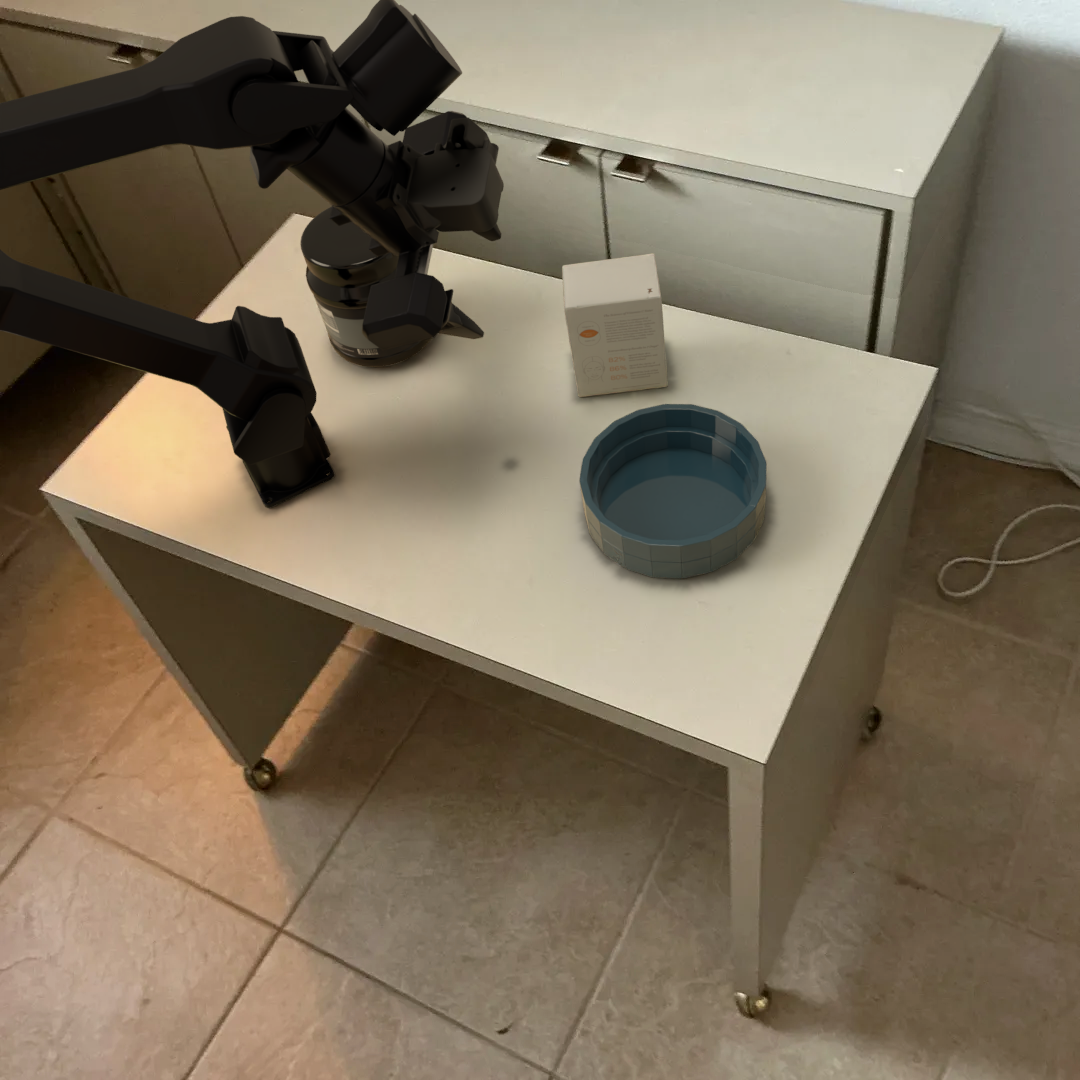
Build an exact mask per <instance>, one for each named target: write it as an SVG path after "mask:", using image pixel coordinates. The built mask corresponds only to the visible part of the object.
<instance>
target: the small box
mask: <svg viewBox="0 0 1080 1080" xmlns="http://www.w3.org/2000/svg"><path fill="white" fill-rule="evenodd" d="M561 276H562V296H563V312H564V319H565V324H566V331H567V335H568V342H569V347H570V348H569V349H570V354H571V360H572V366H573V371H574V378H575V384H576V391H577V396H578V397H579V398H585V397H591V396H600V395H608V394H616V393H617V394H618V393H624V392H625V393H626V392H635V391H643V390H651V389H660V388H666V387H668V385H669V383H668V381H669V380H668V367H667V356H666V342H665V329H664V327H665V325H664V312H663V301H662V300H663V299H662V294H661V293H662V292H661V286H660V279H659V271H658V266H657V259H656V255H655V253H654V252H653V253H647V254H637V255H631V256H624V257H622V256H621V257H616V258H608V259H601V260H593V261H585V262H578V263H570V264H569V263H568V264H562V267H561Z"/></svg>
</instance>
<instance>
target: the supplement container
mask: <svg viewBox="0 0 1080 1080" xmlns="http://www.w3.org/2000/svg"><path fill="white" fill-rule="evenodd" d="M331 209H332V205H331V206H329V207H327V208H326V209H324V210H322V211H321V212H320V213H318V214H317V215H315V216H314V217H313V218H312V219H311V220H310V221H309V223H308V224H307V225H306V226H305V228H304V230H303V231H302V233H301V237H300V243H299V244H300V250H301V254H302V256H303V258H304V261H305V263H306V267H305V268H306V269H305V278H306V283H307V285H308V288H309V290H310V292H311V293H312V296H313V297H314V300H315V302H316V305H317V308H318V311H319V314H320V316H321V319H322V321H323V324H324V327H325V329H326V332H327V336H328V339H329V340H328V341H329V343H330V345H331V347H332V348H333V350H334V351H335V353H337V355H339V357H340V358H342V359H343V360H345V361H346V362H348V363H350V364H353V365H356V366H359V367H363V368H364V367H366V368H382V367H383V368H384V367H389V366H393V365H397V364H400V363H402V362H405V361H407V360H409V359H411V358H413V357H415V356H416V355H417V354H419V353H420V352H421V351H423V349H425V347H427V345H428V344H429V343H430V341H432V339H433V338H430V339H426V340H422V341H418V342H414V343H410V344H406V345H402V346H398V347H394V348H390V349H386V350H382V349H380V348H379V347H377V346H376V345H375V344H373V343H372V342H370V341H369V340H368V339H367V338H366V337H365V336H364V335H363V334H362V325H363V320H364V315H365V311H366V306H367V302H368V297H369V293H370V288H371V285H374V284H378V283H381V282H384V281H387V280H391V279H394V278H395V273H396V269H397V264H398V259H399V256H395V255H393V254H392V253H387V254H384V255H381V256H378V257H377V256H376V255H375V254H374V253H372V252H371V251H370V250H369V244H370V240H371V237H370V236H369V235H368V234H366V233H365V232H364V231H363V230H361V229H360V228H359V227H358V226H357V225H355V224H354V223H353V222H349V223H346V224H344V225H341V226H338V225H337V224H336V223H335V222H333V221H332V220H331V219H330V218H329V217H330V213H331Z"/></svg>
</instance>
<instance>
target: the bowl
mask: <svg viewBox="0 0 1080 1080" xmlns="http://www.w3.org/2000/svg"><path fill="white" fill-rule="evenodd" d="M763 452H764V451H763V450H762V448H761V445H760V443H759V441H758V440H757V438H755V436H754V435H753V434H752V433H751V432H750V431H749V430H748V429H747V428H746V426H744V425H743V424H742V423H741V422H739V421H737V420H736V419H734V418H732V417H731V416H728V415H727V414H726V413H723V412H721V411H719V410H716V409H713V408H708V407H705V406H701V405H697V404H693V403H662V404H658V405H653V406H650V407H645V408H640V409H636V410H634V411H633V412H630V413H628V414H626V415H624V416H622V417H620V418H617V419H616V420H614V421H613V422H611V423H610V424H609V425H608V426H607V427H606V428H605V429H603V430H602V431H601V432H600V433H599V434H598V435H597V436H595V437H594V438H593V440H592V442H591V443H590V446H589V447H588V449H587V450H586V451H585V454H584V455H583V457H582V461H581V467H580V472H579V473H580V474H579V487H580V493H581V500H582V506H583V512H584V516H585V517H584V518H585V520H586V524H587V525H586V526H587V528H588V532H589V535H590V537H591V538H592V540H593V541H594V543H595V544H596V545H597V546H598V548H599V550H601V551H602V553H603V554H604V555H605V556H606V557H608V558H610V559H611V560H612V561H614V562H615V563H616V564H618V565H620V566H621V567H622V568H623V569H626V570H629V571H631V572H634V573H638V574H641V575H644V576H646V577H650V578H656V579H658V578H659V579H687V578H692V577H696V576H700V575H705V574H710V573H713V572H715V571H717V570H718V569H721V568H723V567H725V566H726V565H728V564H730V563H732V562H733V561H735V560H737V559H738V558H739V557H740V556H741V555H742V554H743V553H744V552H745V551H746V550H747V549H748V548H749V547H750V546H751V545H752V544H753V543H754V542H755V540H756V538H757V536H758V534H759V532H760V529H761V527H762V525H763V523H764V521H765V518H766V517H765V515H766V497H767V496H766V495H767V469H768V468H767V467H768V466H767V465H768V463H767V460H766V457H765V455H764V453H763Z"/></svg>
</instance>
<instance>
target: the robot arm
mask: <svg viewBox="0 0 1080 1080" xmlns="http://www.w3.org/2000/svg"><path fill="white" fill-rule="evenodd" d="M299 71H303V74H304V76H305V78H306V81H307V82H308V83H306V82H299V80H298V78H297V75H296V73H295V72H299ZM462 74H463V71H462V69H461V67H460V65H459V64H458V62H457V61H456V59H455V58H454V57H453V56H452V54H451V53H450V52H449V51H448V49H447V48H446V47H445V46H444V44H443V43H442V42H441V40H439V38H438V37H437V36H436V35H435V34H434V32H433V31H432V30H431V29H430V27H429V26H428V25H426V23H425V22H424V21H423V20H422V19H421V18H420V17H419V16H418V15H417V13H414V14H412V13H411V12H410V11H409V10H408V9H407V8H406V7H404V6H403V5H402V4H398V3H397V1H396V0H378V1H377V2H376V3H375V4H374V6H372V8H371V9H370V11H369V12H368V15H367V17H366V18H365V19H364V20H363V21H362V22H361V23H360V24H359V25H358V26H357V27H356V28H355V30H354V31H352V33H350V35H349V36H348V37H347V38H346V39H345V40H344V41H343V42H342V43H341V44H340V45H339V46H338V47H337V48H336V49H335V50H334V51H333V49H331V47H330V44H329V42H328V40H327V39H326V37H324V36H322V35H314V34H307V33H297V32H288V31H280V30H279V31H278V30H272V28H270V27H268V26H266V25H265V24H263V23H261V22H260V21H258V20H256V19H255V18H254V17H250V16H245V15H238V16H229V17H226V18H223V19H219V20H218V21H215V22H213V23H211V24H209V25H207V26H205V27H202V28H201V29H198V30H196V31H194V32H191V33H190V34H187V35H185V36H183V37H180V38H179V39H178V40H176V42H174V43H173V44H172V45H171V46H169V47H168V48H167V49H166V50H164V51H163V52H162V53H161V54H159V55H158V56H157V57H155V58H154V59H152V60H150V61H148V62H146V63H144V64H142V65H140V66H138V67H135V68H132V69H127V70H124V71H119V72H116V73H112V74H109V75H105V76H100V77H96V78H93V79H89V80H84V81H82V82H77V83H73V84H69V85H65V86H62V87H57V88H54V89H50V90H46V91H42V92H37V93H34V94H29V95H26V96H23V97H18V98H14V99H11V100H7V101H3V102H0V191H1V190H6V189H9V188H12V187H17V186H21V185H24V184H28V183H32V182H36V181H39V180H42V179H43V180H44V179H47V178H50V177H51V178H52V177H55V176H58V175H62V174H65V173H68V172H73V171H76V170H80V169H83V168H84V169H85V168H88V167H91V166H96V165H99V164H103V163H106V162H110V161H113V160H117V159H120V158H125V157H128V156H132V155H135V154H141V153H143V152H147V151H151V150H154V149H158V148H162V147H163V148H164V147H170V146H179V145H183V146H184V145H185V146H192V147H197V148H202V149H208V150H215V151H221V150H222V151H223V150H234V149H241V148H242V149H243V148H249V162H250V165H251V167H252V171H253V173H254V176H255V177H254V178H255V179H256V183H257V185H258V187H259V188H260V189H263V190H265V189H268V188H269V187H270V186H271V185H272V184H273V183H274V182H276V181H277V179H278V178H279V177H280V176H281V175H282V174H283V173H284V172H285V171H286V170H288V171H289V172H290V173H291V174H293V175H294V176H295V177H296V178H298V180H300V181H301V182H302V183H303V184H304V185H306V186H307V187H309V188H310V189H311V190H312V191H313V192H315V193H316V194H317V195H318V196H320V197H321V198H322V199H324V200H325V201H326V202H327V203H328V204H329V205H331V206H332V209H331V213H330V217H329V218H330V219H331V220H332V221H333V222H335V223H336V224H337V225H338V226H341V225H344V224H346V223H349V222H353V223H354V224H355V225H357V226H358V227H359V228H360V229H361V230H363V231H364V232H365V233H366V234H368V235H369V236H370V237H371V240H370V244H369V250H370V251H371V252H372V253H374V254H375V255H376V256H377V257H378V256H381V255H384V254H387V253H392V254H393V255H395V256H399V259H398V264H397V269H396V273H395V278H394V279H391V280H387V281H384V282H381V283H378V284H374V285H371V288H370V293H369V297H368V302H367V306H366V311H365V315H364V320H363V325H362V334H363V335H364V336H365V337H366V338H367V339H368V340H369V341H370V342H372V343H373V344H375V345H376V346H377V347H379V348H380V349H382V350H386V349H390V348H394V347H398V346H402V345H406V344H410V343H414V342H418V341H422V340H426V339H430V338H432V339H433V338H435V337H436V336H437V335H438V334H440V335H445V336H451V337H457V338H462V339H463V338H464V339H470V340H477V339H482V338H484V336H485V331H484V330H483V329H482V328H481V327H480V326H479V324H477V322H475V321H474V320H473V318H471V317H469V316H468V315H467V314H466V313H465V312H464V311H463V310H461V309H460V308H459V307H458V306H456V304H454V303H453V301H452V300H453V295H454V289H453V288H450V289H446V290H445V287H444V284H443V283H442V281H440V280H439V279H438V278H436V277H435V276H434V275H431V274H428V272H429V268H430V263H431V258H432V254H433V249H434V248H433V247H434V244H437V243H438V239H439V234H440V233H450V232H451V233H453V232H473V233H474V234H476V235H478V236H480V237H482V238H483V239H485V240H487V241H490V242H495V241H499V240H501V239H502V232H501V230H500V227H499V226H498V220H499V208H500V202H501V199H502V198H501V197H502V193H503V192H504V187H505V183H504V180H503V179H502V176H501V174H500V171H499V169H498V167H497V161H498V155H499V151H500V150H499V149H500V147H499V145H497V144H496V143H494V142H492V141H491V140H490V137H489V135H488V133H487V132H486V131H485V130H484V129H483V128H482V127H481V126H479V125H478V124H477V123H476V122H475V121H473V120H472V119H471V118H470V117H467V115H466V114H464V113H463V112H458V111H453V110H448V111H445V112H443V113H440V114H438V115H435V116H433V117H430V118H428V119H425V120H423V121H420V122H418V123H415V124H413V123H414V121H416V120H417V118H419V117H420V116H421V115H422V114H423V113H424V112H425V111H426V110H427V109H428V108H429V107H430V106H431V105H432V104H433V103H434V102H435V101H436V100H437V99H438V98H439V97H440V96H441V95H442V94H443V93H444V92H446V90H447V89H448V88H449V87H450V86H451V85H453V83H455V81H456V80H458V79H459V78H460V77H461V76H462ZM349 105H350V106H351V107H352V108H353V109H354V110H355V111H356V112H357V113H358V114H359V115H360V116H361V117H362V118H363V120H365V122H366V123H368V124H369V125H370V126H371V127H372V128H374V129H375V130H376V131H377V132H383V130H385V132H387V133H389V134H390V135H391V136H393V137H396V135H397V134H399V133H400V132H403V139H402V140H397V141H395V142H392V143H390V144H386V143H385V142H384V141H383V140H382V139H381V138H380V137H379V136H378V135H376V133H375V132H374V131H372V130H371V129H370V128H369V127H368V126H367V125H366V124H364V122H363V121H361V120H360V119H359V118H358V117H357V116H356V115H355V114H354V113H353V112H351V110H349V109H348V108H347V107H349ZM0 332H5V333H7V334H11V335H15V336H19V337H22V338H25V339H29V340H32V341H37V342H40V343H43V344H47V345H50V346H54V347H57V348H61V349H64V350H68V351H71V352H74V353H78V354H82V355H85V356H88V357H91V358H95V359H99V360H103V361H106V362H109V363H113V364H117V365H120V366H123V367H126V368H131V369H133V370H137V371H141V372H144V373H148V374H150V375H155V376H159V377H162V378H165V379H169V380H172V381H175V382H178V383H182V384H186V385H190V386H192V387H193V388H196V389H198V390H199V391H200V392H201V393H203V394H204V395H205V396H207V398H209V399H210V400H212V401H213V402H214V403H215V404H217V405H218V406H220V408H221V409H222V413H223V416H224V420H225V424H226V430H227V432H228V436H229V439H230V442H231V448H232V450H233V454H234V455H235V456H236V457H238V458H239V459H241V461H242V463H243V465H244V468H245V470H246V472H247V473H248V475H249V477H250V479H251V482H252V483H253V486H254V488H255V490H256V493H257V494H258V496H259V498H260V500H261V502H262V504H263V506H264V507H265V508H267V509H271V508H273V507H276V506H278V505H280V504H282V503H285V502H286V501H289V500H290V499H293V498H295V497H297V496H299V495H301V494H303V493H306V492H307V491H310V490H311V489H314V488H316V487H318V486H320V485H323V484H324V483H327V482H329V481H330V480H332V479H334V477H335V471H334V469H333V467H332V466H331V464H330V461H329V460H328V459H329V458H330V457H331V455H332V453H331V452H330V451H331V450H330V449H329V446H328V444H327V442H326V439H325V437H324V435H323V433H322V431H321V428H320V426H319V423H318V421H317V420H316V418H315V417H314V415H313V413H312V411H313V410H314V407H315V406H316V403H317V395H318V394H317V390H316V387H315V384H314V382H313V378H312V376H311V373H310V369H309V367H308V364H307V361H306V357H305V355H304V352H303V350H302V346H301V343H300V341H299V338H298V337H297V336H296V333H295V332H294V331H292V330H291V329H290V328H288V327H286V326H285V324H284V319H283V318H282V317H281V316H267V315H262V314H260V313H258V312H256V311H254V310H252V309H250V308H248V307H247V306H243V305H237V306H236V307H235V310H234V312H233V315H232V317H231V319H226V320H221V321H216V322H205V321H201V320H197V319H195V318H191V317H189V316H185V315H183V314H180V313H177V312H173V311H170V310H167V309H165V308H161V307H157V306H155V305H152V304H149V303H146V302H143V301H141V300H140V301H139V300H137V299H133V298H130V297H128V296H124V295H122V294H121V295H120V294H118V293H115V292H112V291H110V290H107V289H103V288H100V287H97V286H94V285H91V284H88V283H85V282H82V281H78V280H75V279H72V278H70V277H66V276H63V275H60V274H57V273H54V272H51V271H48V270H46V269H42V268H40V267H36V266H33V265H29V264H26V263H24V262H21V261H18V260H17V259H15V258H12V257H11V256H10V255H8V254H7V253H6V252H4V251H3V250H2V249H0Z"/></svg>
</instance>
